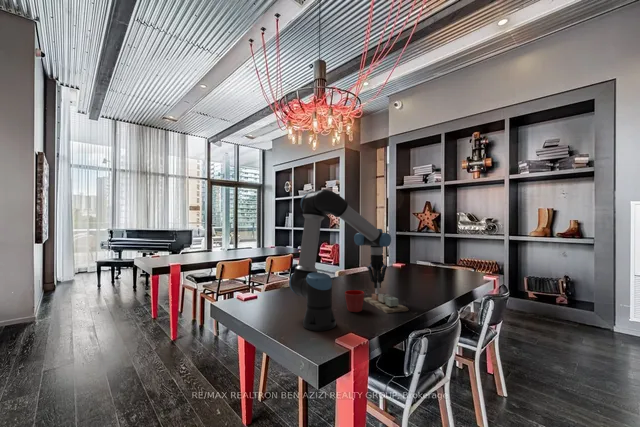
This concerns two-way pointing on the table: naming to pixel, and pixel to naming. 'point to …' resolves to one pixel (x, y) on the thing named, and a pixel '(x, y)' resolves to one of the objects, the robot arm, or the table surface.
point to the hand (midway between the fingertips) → (377, 293)
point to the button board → (385, 306)
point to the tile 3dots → (375, 297)
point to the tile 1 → (382, 297)
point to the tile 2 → (391, 301)
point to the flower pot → (354, 300)
